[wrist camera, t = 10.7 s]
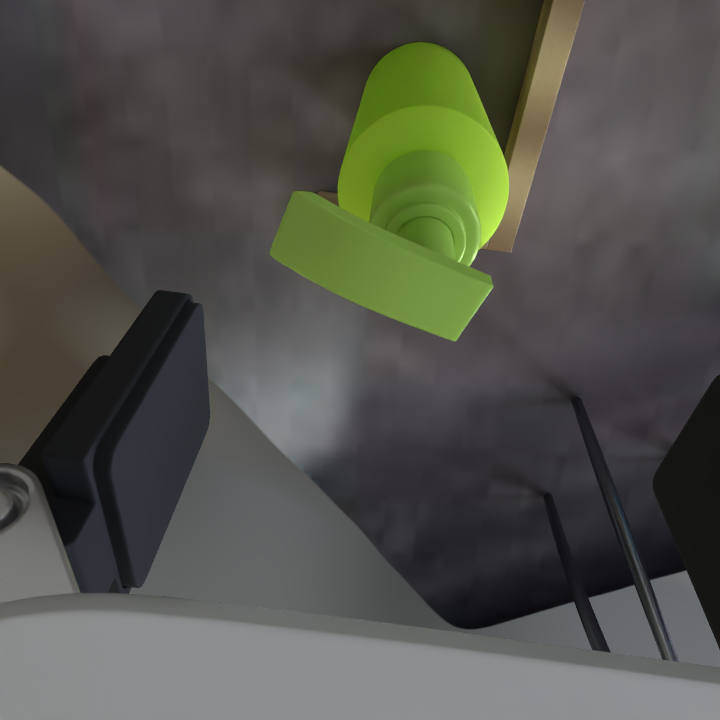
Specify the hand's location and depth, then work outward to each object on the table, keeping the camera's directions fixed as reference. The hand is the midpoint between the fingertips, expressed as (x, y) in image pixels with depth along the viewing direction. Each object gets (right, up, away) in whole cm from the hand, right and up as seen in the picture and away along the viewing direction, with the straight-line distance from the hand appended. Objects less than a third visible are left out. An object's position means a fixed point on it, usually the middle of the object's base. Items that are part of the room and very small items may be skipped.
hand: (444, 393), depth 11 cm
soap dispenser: (+1, +14, +20) cm, 24 cm away
